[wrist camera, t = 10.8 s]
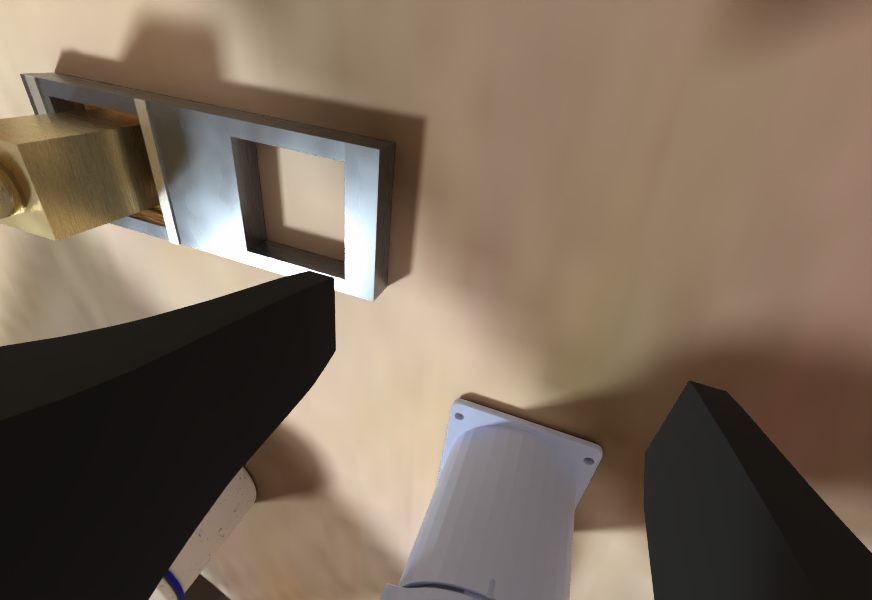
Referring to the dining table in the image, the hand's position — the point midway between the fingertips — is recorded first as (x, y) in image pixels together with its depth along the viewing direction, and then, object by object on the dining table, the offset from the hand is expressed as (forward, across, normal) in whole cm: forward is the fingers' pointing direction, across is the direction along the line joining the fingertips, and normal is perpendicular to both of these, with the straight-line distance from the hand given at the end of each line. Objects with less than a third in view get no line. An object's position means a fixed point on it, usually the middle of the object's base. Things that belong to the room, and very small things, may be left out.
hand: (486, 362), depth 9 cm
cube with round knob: (+10, +21, +2) cm, 24 cm away
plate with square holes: (+10, +16, +2) cm, 19 cm away
